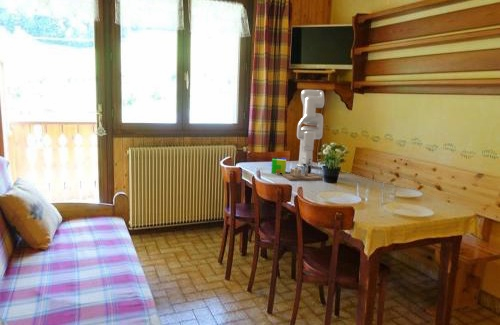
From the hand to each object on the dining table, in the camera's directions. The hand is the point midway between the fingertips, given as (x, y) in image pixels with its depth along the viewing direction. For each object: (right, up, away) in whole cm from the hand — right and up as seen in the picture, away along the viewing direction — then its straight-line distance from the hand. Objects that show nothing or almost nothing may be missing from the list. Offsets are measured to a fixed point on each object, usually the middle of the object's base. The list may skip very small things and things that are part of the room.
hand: (306, 172), depth 287 cm
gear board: (-5, -4, -15) cm, 17 cm away
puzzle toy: (-20, 0, -1) cm, 20 cm away
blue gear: (0, -1, 0) cm, 1 cm away
